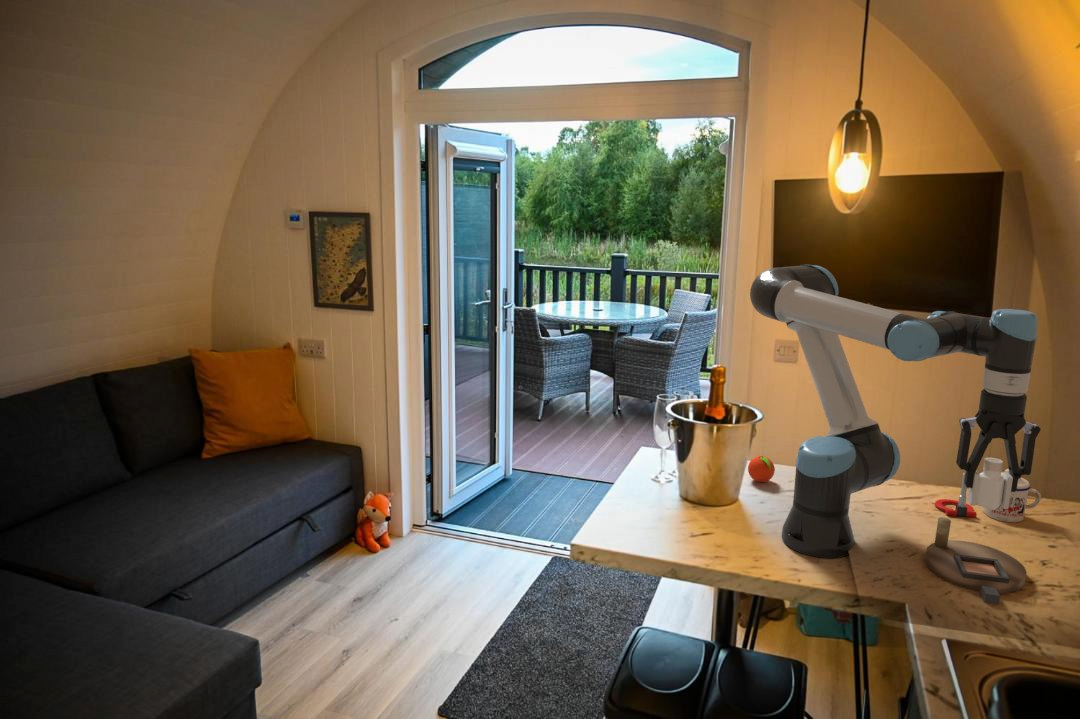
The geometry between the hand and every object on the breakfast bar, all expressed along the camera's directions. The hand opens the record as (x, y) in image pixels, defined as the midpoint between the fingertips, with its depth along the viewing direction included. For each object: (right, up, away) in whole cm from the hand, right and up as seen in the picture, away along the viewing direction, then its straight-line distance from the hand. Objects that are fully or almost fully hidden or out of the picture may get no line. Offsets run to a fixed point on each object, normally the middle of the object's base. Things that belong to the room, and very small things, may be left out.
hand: (987, 504), depth 149 cm
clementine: (-29, -4, +53) cm, 61 cm away
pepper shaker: (0, -1, 0) cm, 0 cm away
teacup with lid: (+26, -10, +34) cm, 44 cm away
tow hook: (+14, -9, +37) cm, 41 cm away
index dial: (+1, -15, +6) cm, 16 cm away
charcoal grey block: (-2, -19, -4) cm, 19 cm away
